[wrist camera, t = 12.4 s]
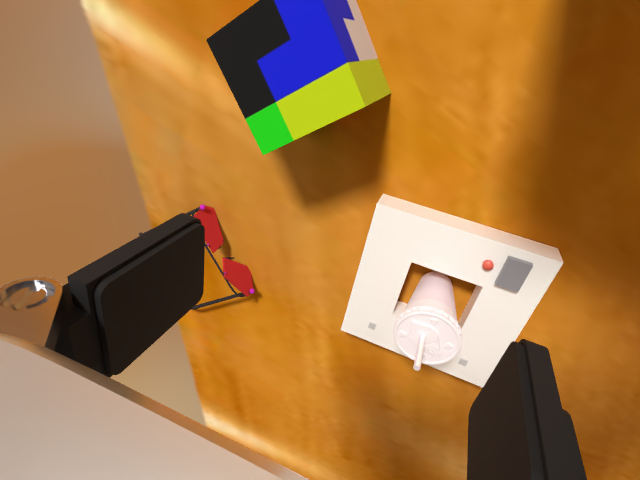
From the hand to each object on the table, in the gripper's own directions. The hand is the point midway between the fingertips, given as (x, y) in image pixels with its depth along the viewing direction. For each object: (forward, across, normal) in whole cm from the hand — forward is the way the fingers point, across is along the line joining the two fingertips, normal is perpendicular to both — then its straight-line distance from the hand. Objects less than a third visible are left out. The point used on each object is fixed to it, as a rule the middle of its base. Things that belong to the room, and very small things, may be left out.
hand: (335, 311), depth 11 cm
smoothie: (+31, -6, +17) cm, 35 cm away
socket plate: (+30, -6, +17) cm, 35 cm away
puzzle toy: (+31, +12, -3) cm, 33 cm away
